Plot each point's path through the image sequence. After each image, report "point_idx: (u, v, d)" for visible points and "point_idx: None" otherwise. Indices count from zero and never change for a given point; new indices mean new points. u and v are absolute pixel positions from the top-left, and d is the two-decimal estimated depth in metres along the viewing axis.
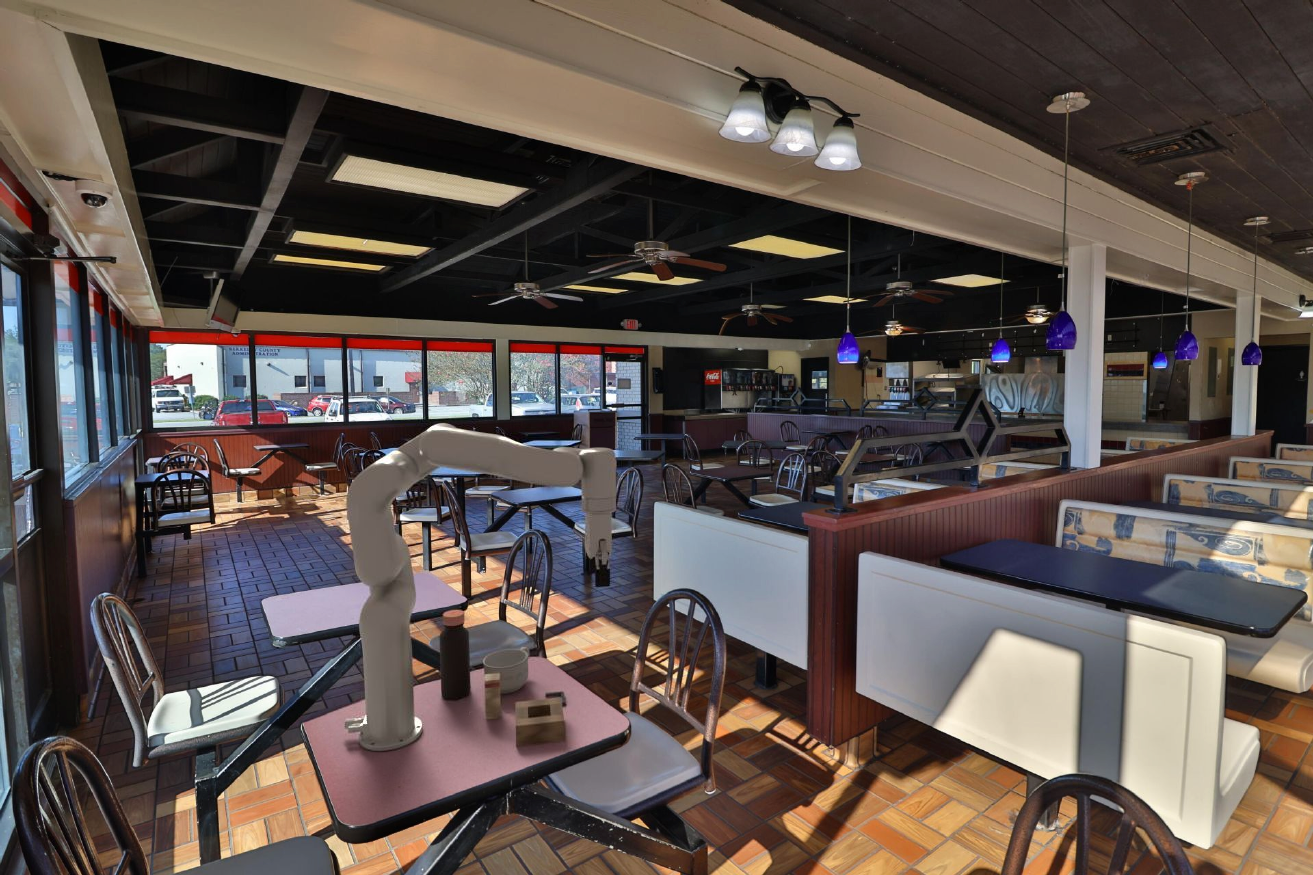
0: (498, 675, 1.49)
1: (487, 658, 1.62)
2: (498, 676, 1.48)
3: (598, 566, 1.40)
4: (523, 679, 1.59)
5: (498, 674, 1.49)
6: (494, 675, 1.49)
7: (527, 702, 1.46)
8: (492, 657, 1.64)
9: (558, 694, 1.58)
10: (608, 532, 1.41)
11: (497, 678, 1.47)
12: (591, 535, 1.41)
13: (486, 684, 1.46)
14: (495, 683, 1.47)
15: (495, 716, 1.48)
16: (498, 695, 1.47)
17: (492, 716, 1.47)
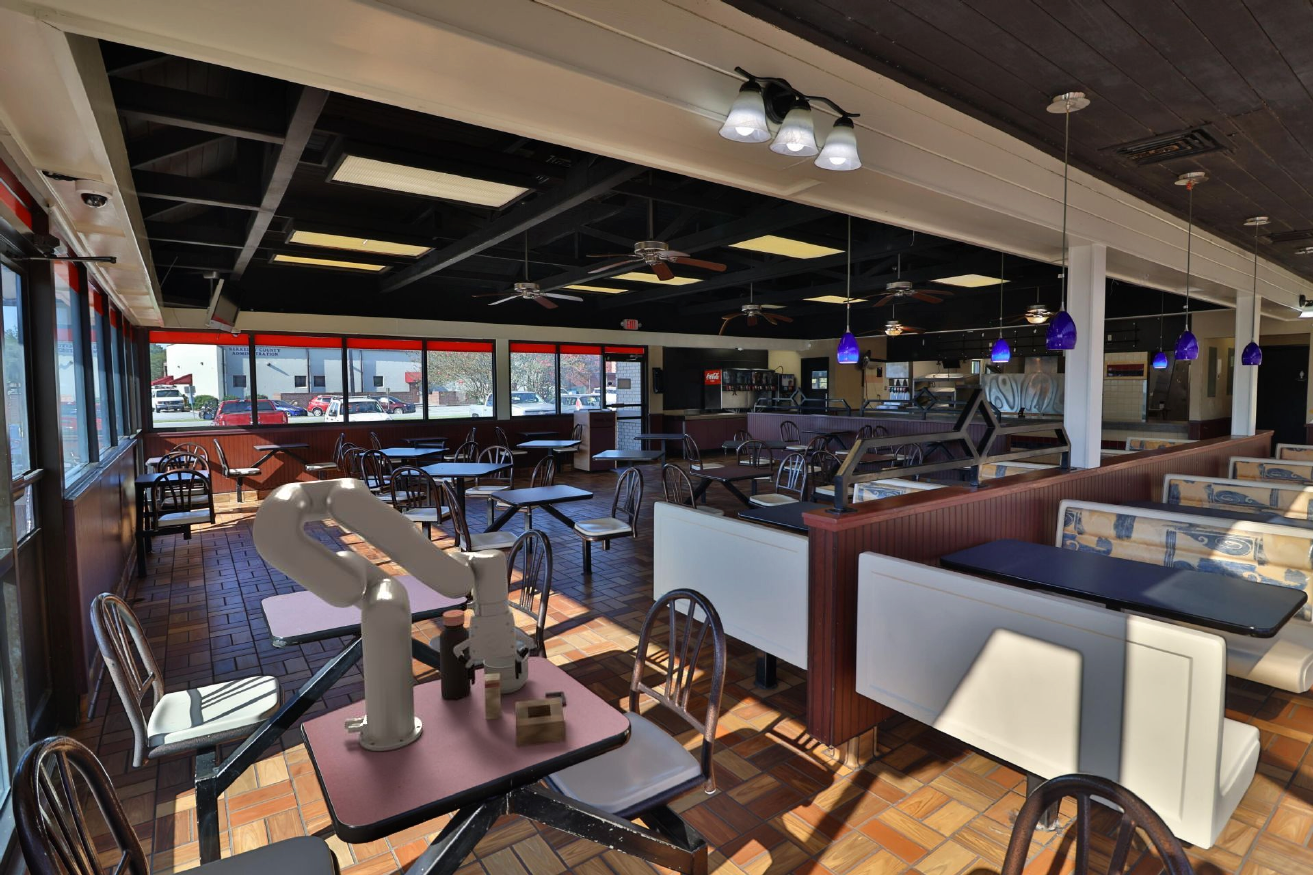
0: (498, 675, 1.49)
1: None
2: (498, 676, 1.48)
3: (521, 657, 1.48)
4: (523, 679, 1.59)
5: (498, 674, 1.49)
6: (494, 675, 1.49)
7: (527, 702, 1.46)
8: None
9: (558, 694, 1.58)
10: None
11: (497, 678, 1.47)
12: (514, 632, 1.46)
13: (486, 684, 1.46)
14: (495, 683, 1.47)
15: (495, 716, 1.48)
16: (498, 695, 1.47)
17: (492, 716, 1.47)
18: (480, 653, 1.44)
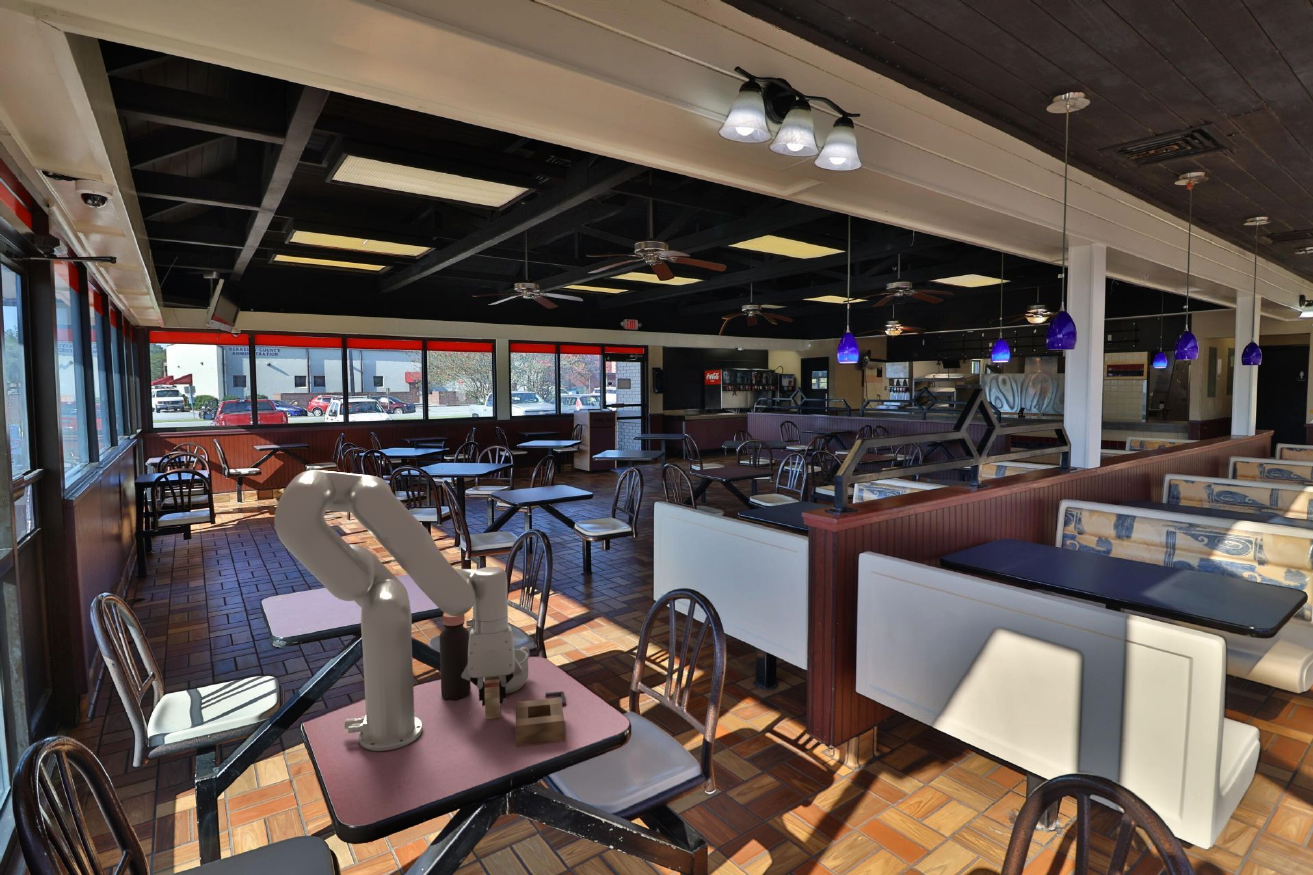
0: None
1: None
2: (498, 676, 1.48)
3: None
4: (523, 679, 1.59)
5: None
6: None
7: (527, 702, 1.46)
8: None
9: (558, 694, 1.58)
10: None
11: (497, 678, 1.47)
12: (512, 650, 1.46)
13: (486, 684, 1.46)
14: (495, 683, 1.47)
15: (495, 716, 1.48)
16: (498, 695, 1.47)
17: (492, 716, 1.47)
18: (478, 670, 1.45)
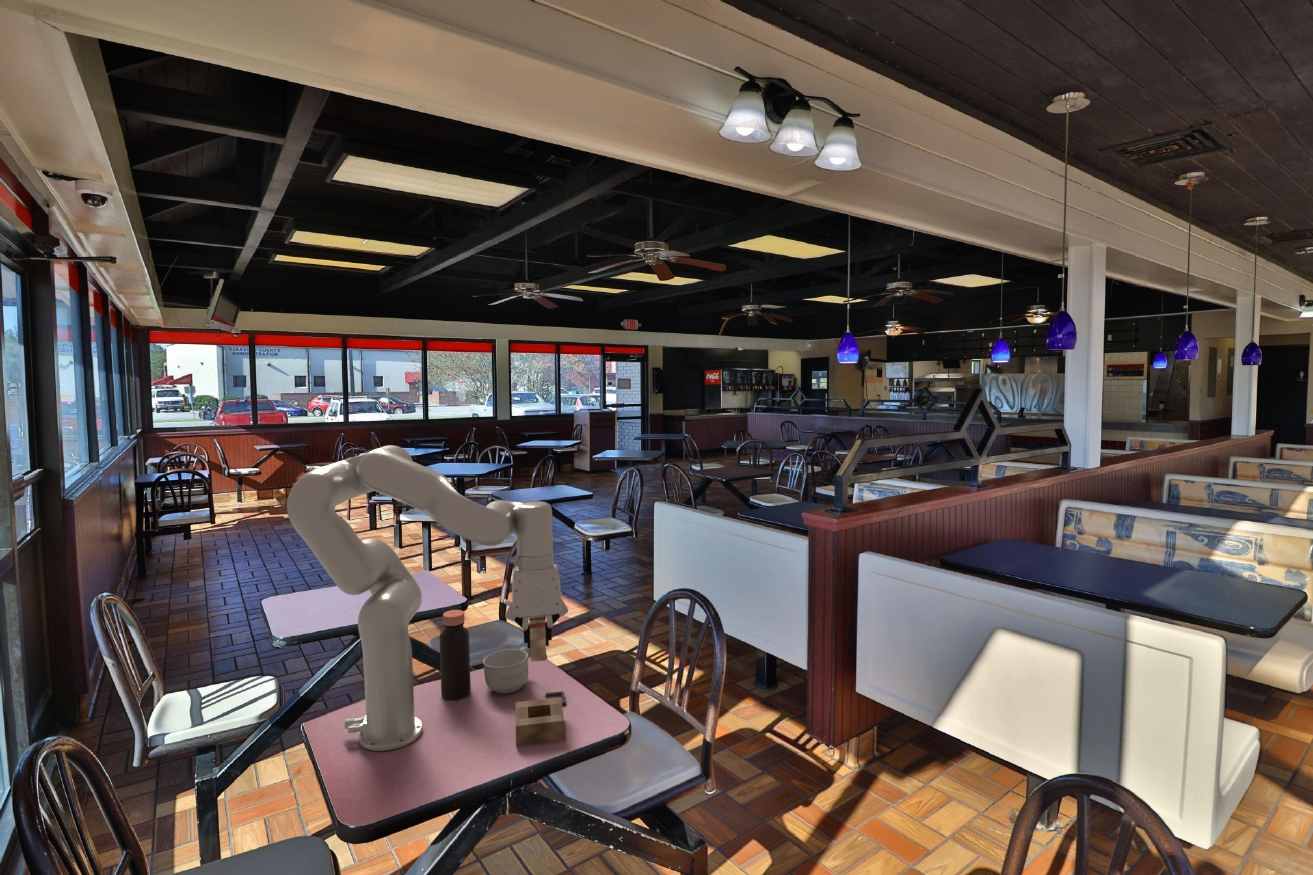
0: (543, 616, 1.41)
1: (487, 658, 1.62)
2: (543, 616, 1.40)
3: None
4: (523, 679, 1.59)
5: None
6: (539, 616, 1.41)
7: (527, 702, 1.46)
8: (492, 657, 1.64)
9: (558, 694, 1.58)
10: None
11: (542, 618, 1.39)
12: (559, 589, 1.38)
13: (531, 624, 1.38)
14: (541, 623, 1.39)
15: (541, 658, 1.40)
16: (544, 636, 1.39)
17: (538, 658, 1.39)
18: (523, 610, 1.36)
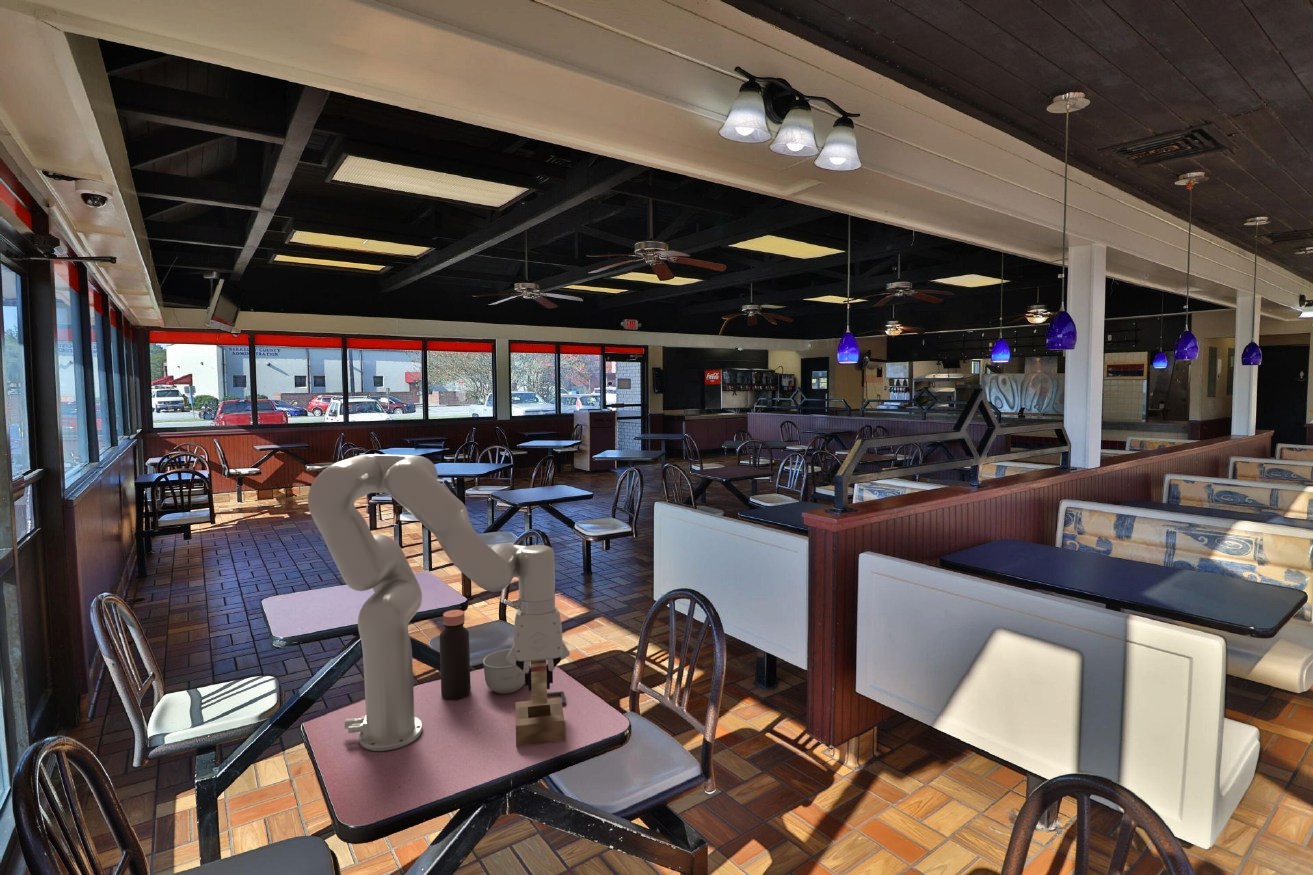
0: None
1: (487, 658, 1.62)
2: None
3: None
4: (523, 679, 1.59)
5: None
6: None
7: (527, 702, 1.46)
8: (492, 657, 1.64)
9: (558, 694, 1.58)
10: None
11: (544, 661, 1.40)
12: (560, 632, 1.39)
13: (532, 668, 1.39)
14: (542, 667, 1.40)
15: (542, 701, 1.40)
16: (545, 679, 1.40)
17: (539, 701, 1.40)
18: (525, 653, 1.37)
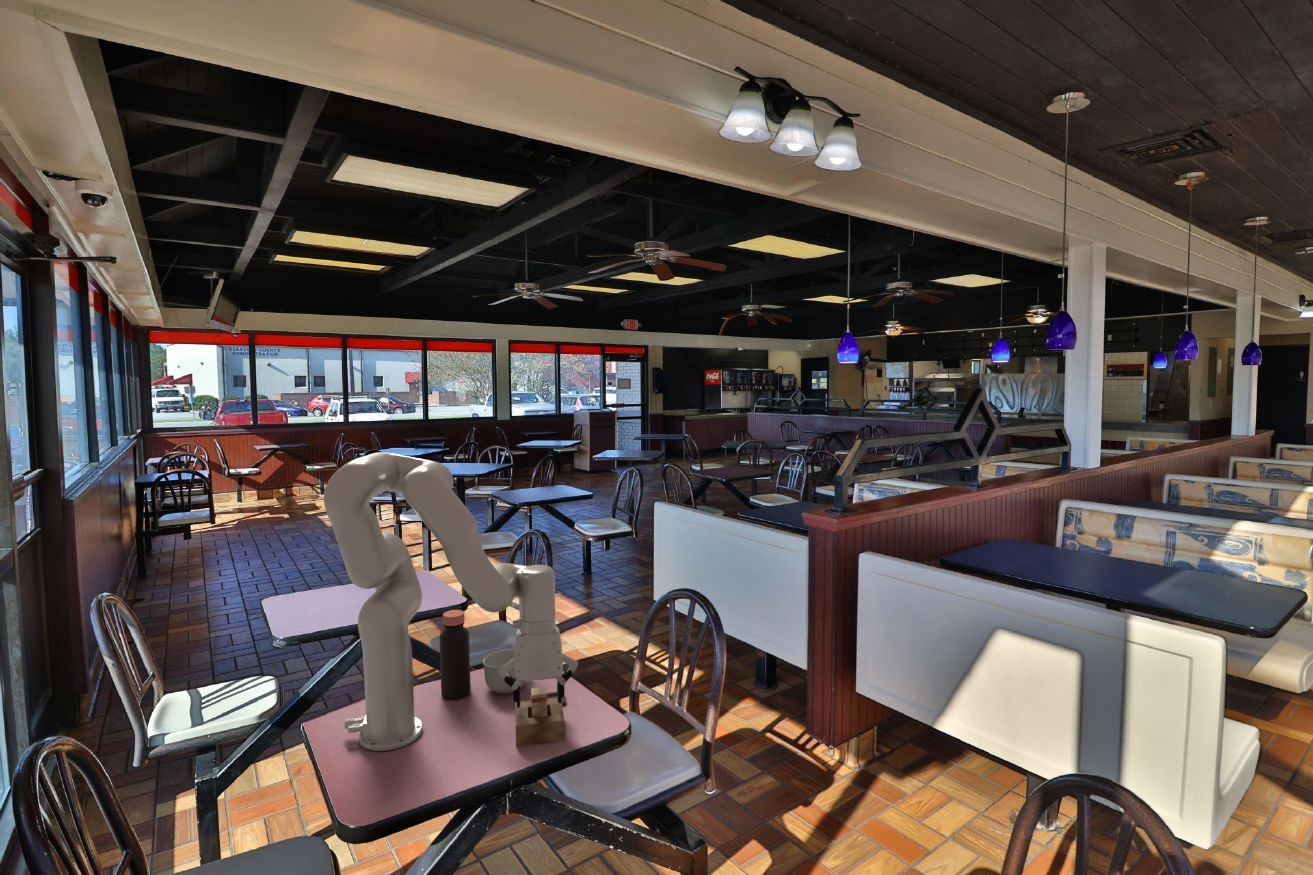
0: (545, 689, 1.42)
1: (487, 658, 1.62)
2: (545, 690, 1.42)
3: (565, 680, 1.41)
4: None
5: (545, 688, 1.43)
6: (541, 689, 1.42)
7: (527, 702, 1.46)
8: (492, 657, 1.64)
9: None
10: None
11: (544, 692, 1.41)
12: (561, 652, 1.39)
13: (533, 699, 1.40)
14: (542, 698, 1.40)
15: None
16: (545, 710, 1.41)
17: None
18: (525, 673, 1.38)
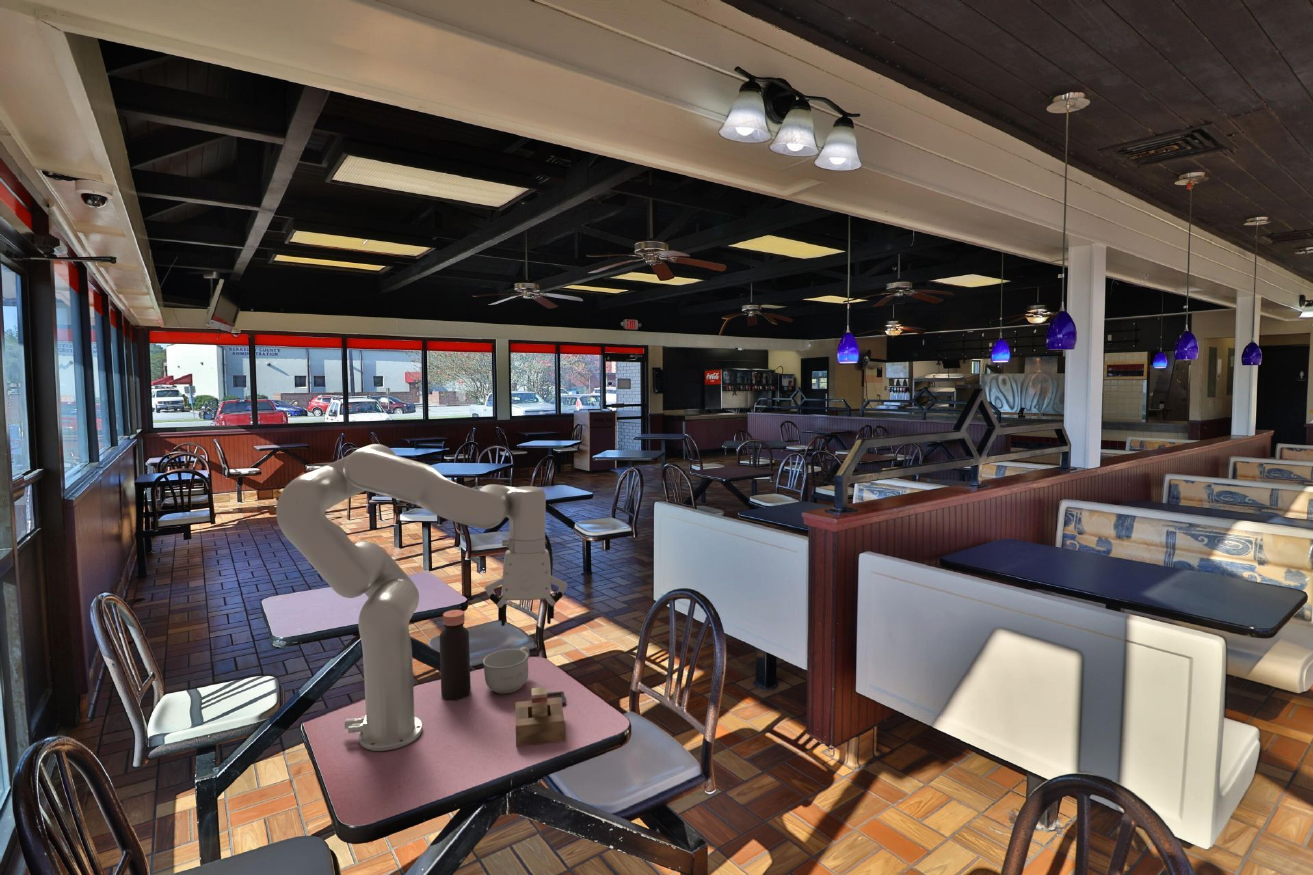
0: (545, 689, 1.42)
1: (487, 658, 1.62)
2: (545, 690, 1.42)
3: (555, 601, 1.42)
4: (523, 679, 1.59)
5: (545, 688, 1.43)
6: (541, 689, 1.42)
7: (527, 702, 1.46)
8: (492, 657, 1.64)
9: (558, 694, 1.58)
10: None
11: (544, 692, 1.41)
12: (549, 574, 1.40)
13: (533, 699, 1.40)
14: (543, 698, 1.40)
15: None
16: (545, 710, 1.41)
17: None
18: (513, 592, 1.38)
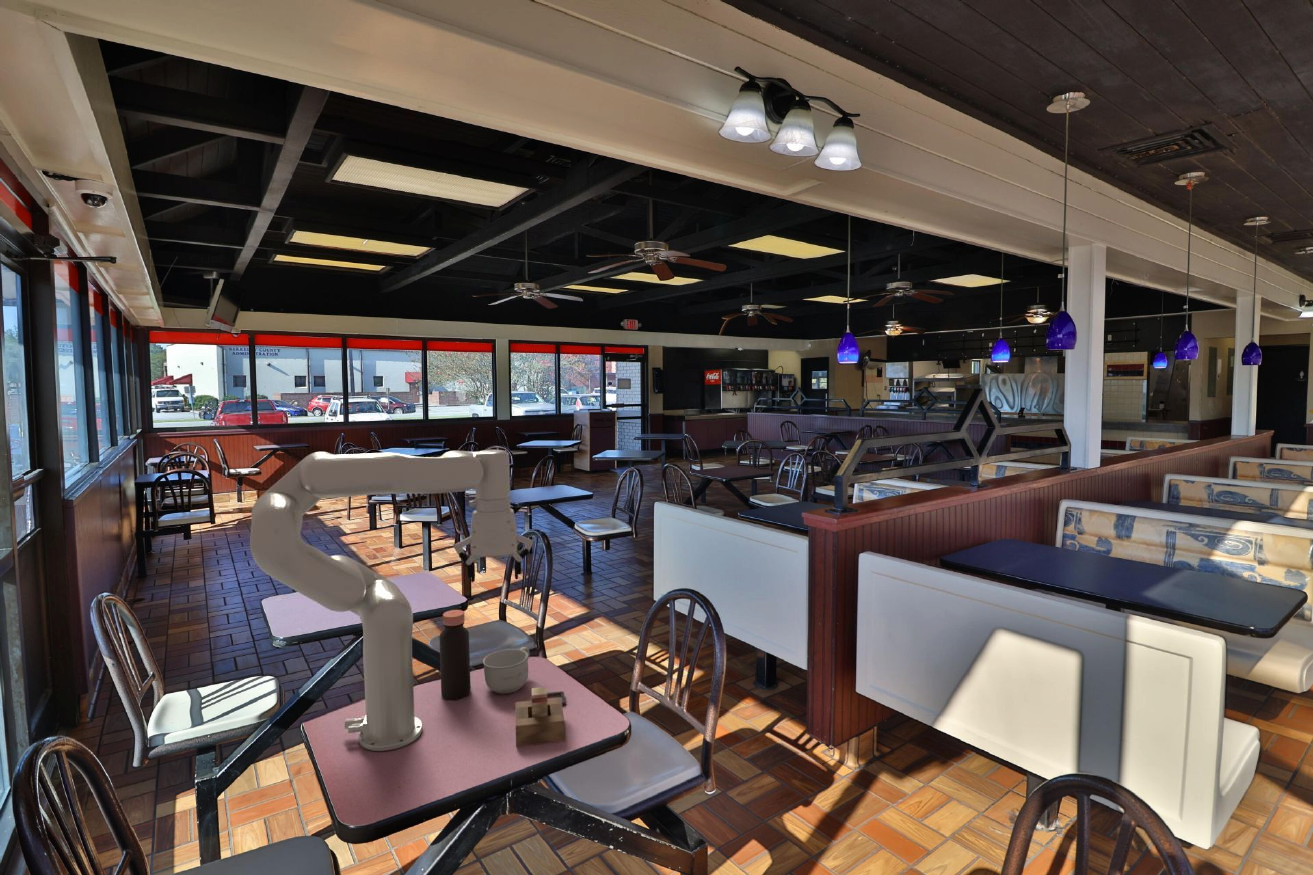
0: (545, 689, 1.42)
1: (487, 658, 1.62)
2: (545, 690, 1.42)
3: (521, 557, 1.50)
4: (523, 679, 1.59)
5: (545, 688, 1.43)
6: (541, 689, 1.42)
7: (527, 702, 1.46)
8: (492, 657, 1.64)
9: (558, 694, 1.58)
10: None
11: (544, 692, 1.41)
12: (515, 531, 1.48)
13: (533, 699, 1.40)
14: (543, 698, 1.40)
15: None
16: (545, 710, 1.41)
17: None
18: (481, 549, 1.46)
